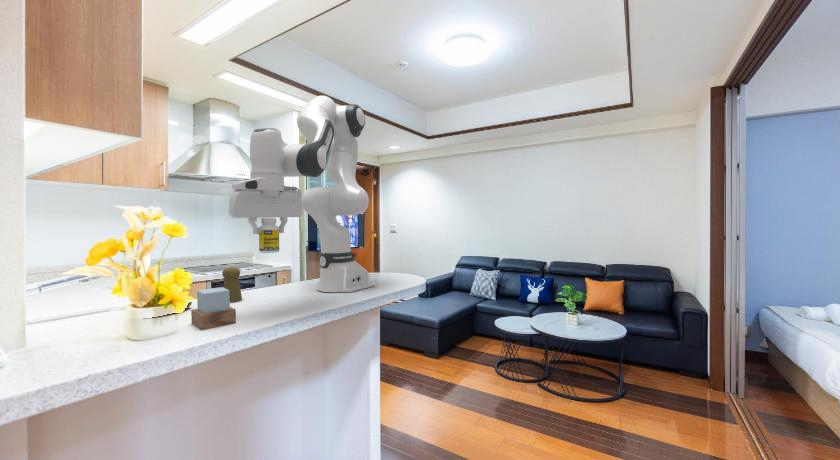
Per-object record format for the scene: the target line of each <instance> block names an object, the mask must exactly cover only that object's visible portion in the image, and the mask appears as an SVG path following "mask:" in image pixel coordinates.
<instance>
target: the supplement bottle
mask: <svg viewBox="0 0 840 460" xmlns="http://www.w3.org/2000/svg"><path fill="white" fill-rule="evenodd" d="M260 218H261V219H260V221H261V222H260V223H261V224H262V225H260V226H259V227H258V228H261V234H258V249H259V250H258V251H259V253H261V254H274V253H279V252H280V233H279V226H278V225H277V217H260Z"/></svg>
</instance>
